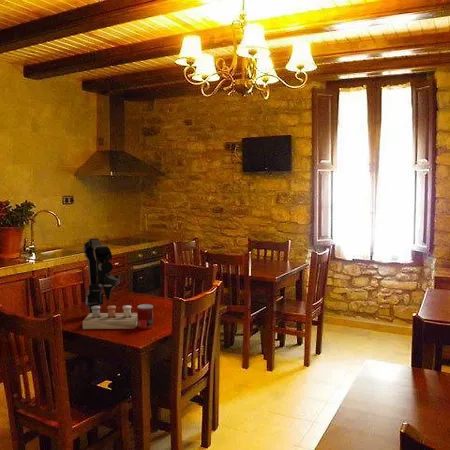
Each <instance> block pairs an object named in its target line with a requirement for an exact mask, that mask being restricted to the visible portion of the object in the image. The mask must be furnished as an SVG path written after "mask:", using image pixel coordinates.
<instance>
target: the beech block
mask: <svg viewBox="0 0 450 450" xmlns="http://www.w3.org/2000/svg"><path fill="white" fill-rule="evenodd" d="M88 314H89V313H88ZM88 314H87V315H86V316H85V318H84V319H83V320H82V330H104V329H106V330H111V329H112V330H118V329H119V330H121V329H124V330H126V329H136V328H137V326H138V321H137V312H131V318H124V312H115V318H108V312H106V313H104V312H100V318H92V313H90V314H89V315H88Z"/></svg>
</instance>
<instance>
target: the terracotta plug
mask: <svg viewBox="0 0 450 450" xmlns="http://www.w3.org/2000/svg"><path fill="white" fill-rule="evenodd" d="M106 309H107V313H108V318H115V313H116V309H117V306H116V305H108V306H107V307H106Z"/></svg>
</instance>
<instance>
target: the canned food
mask: <svg viewBox="0 0 450 450" xmlns="http://www.w3.org/2000/svg"><path fill="white" fill-rule="evenodd" d="M136 307H137V308H136V310H137V312H136V313H137V321H138V323H137V328H138V329H140V330H150V329H152V328H153V327H154V305H153V304H149V303H142V304H139V305H137V306H136Z"/></svg>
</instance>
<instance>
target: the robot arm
mask: <svg viewBox="0 0 450 450" xmlns="http://www.w3.org/2000/svg"><path fill="white" fill-rule="evenodd" d="M82 251H83V254H84V257H85V259H86V260H87V262H88V263H87V264H88V278H89V279H88V280H89V285H88V287H87V288H88V290H87V295H86V297H85V300H84V301H85V305H86V306H87V307H88V314H87V316H88V315H89V314H90V313H92V309H91V307H92V306H100V305H104V299H105V298H106V301H110V297H111V295H112V291H113V289H114V288H116V286H119V284H120V283H119V282H121V277H120V275H118V274H115V275H111V272H112V271H113V269H114V266H113V263H112V262H110V261H112V260H113V254H112V251H111V249H110V247H109V246H108V245H105V244H104V245H103V243H102V242H100V238H97V237H95V238H89V239H88V241H87V242H85V243H84V245H83V248H82ZM103 292H104V295H103ZM104 296H105V297H104ZM100 307H101V306H100ZM100 310H101V308H100V309H99V311H100ZM100 312H101V311H100Z"/></svg>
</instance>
